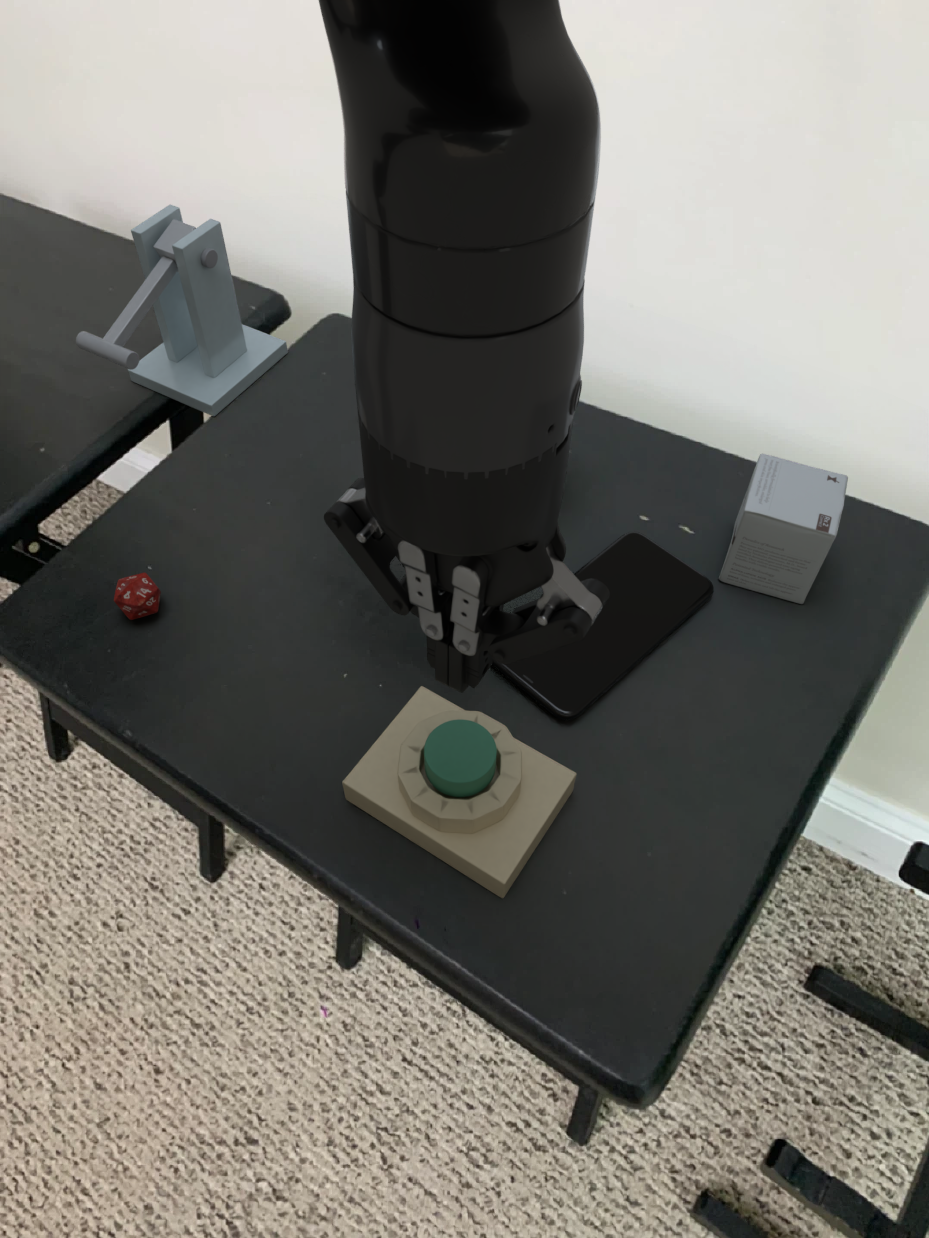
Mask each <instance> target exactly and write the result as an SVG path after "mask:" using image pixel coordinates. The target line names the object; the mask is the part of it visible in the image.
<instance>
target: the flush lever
mask: <svg viewBox="0 0 929 1238" xmlns="http://www.w3.org/2000/svg"><path fill="white" fill-rule="evenodd" d="M196 228H197V227H196V226H193V225H191V224H188V223H185V222H184V221H183V222H180V221H177V220H174V219H173V220H172V222H171V223H170V224H169V226H168V227H167V228H166V230H165V231H164V232H163V234H162V235H161V237H160V238H159V239H158V241H157V242H156V243H155V245H154V246H153V247H154V249H155V250H156V252H157V253H158V255H159V256H160V258H161V259H160V260H159V262H158V263H157V265H156V266H155V267H154V269H153V270H152V271H151V273H150V274H149V276H148V277H147V278H146V280H145V279H144V281H143V283H142V284H141V285H140V286H139V287H138V289H137V290H136V292H135V293H134V295H133V296H132V297H131V299H130V300H129V302H128V303H127V304H126V306H125V307H124V308H123V310H122V311H121V313H120V314H119V315H118V317H117V318H116V319H115V321H114V322H113V324H112V325H111V326H110V328H109V329H108V331H107V332H106V333H105V335H104V337H100V336H98V335H97V334H96V335H95V334H93V333H91V332H89V331H86V330H82V331H79V333H77V335H76V337H75V344H76V346H77V348H79V349H81V350H83V351H86V352H88V353H90V354H93V355H95V356H97V357H99V358H102V359H104V360H107V361H109V362H112V363H114V364H115V365H118V366H120V367H123V368H126V369H127V370H128V369H130V370H132V369H135V368H136V367H137V365H138V363H139V360H140V355H139V354H138V353H137V352H136V351H133V350H132V349H129V348H127V347H124V346H125V345H126V343H127V342H128V341H129V339H130V338H131V336H132V335H133V334H134V332H135V331H136V329H137V328H138V327H139V325H140V324H141V322H143V319H144V318H145V317H146V315H147V314H148V313H149V311H150V310H151V308H153V304H154V303H155V301H156V300H157V299H158V297H159V296H160V295H161V293H162V292H163V290H164V289H165V288H166V286H167V285H168V283H169V282H170V281H171V279H172V278H173V276H174V275H175V274H176V272H179V271H178V267H177V264H176V260H175V256H174V252H173V248H172V245H173V244H174V243H176V242H177V241H179V240H180V239H182V238H183V237H184V236H186V235H187V234H189V233H190V232H192V231H193V230H195V229H196Z"/></svg>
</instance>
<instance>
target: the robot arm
mask: <svg viewBox="0 0 929 1238" xmlns="http://www.w3.org/2000/svg"><path fill="white" fill-rule="evenodd" d="M317 1H318V4H319V8H320V9H319V10H320V13H321V17H322V22H323V27H324V30H325V34H326V40H327V43H328V47H329V52H330V55H331V56H330V57H331V60H332V65H333V69H334V70H333V71H334V75H335V79H336V85H337V91H338V97H339V101H340V109H341V117H342V118H341V119H342V126H343V168H344V170H343V172H344V173H343V174H344V185H345V187H344V189H345V198H346V199H345V201H346V211H347V212H346V213H347V222H348V233H349V234H348V235H349V244H350V257H351V269H352V281H353V282H352V284H353V285H352V286H353V287H352V289H353V291H352V293H353V294H352V309H351V321H350V339H351V356H352V365H353V366H352V367H353V376H354V387H355V397H356V407H357V418H358V430H359V440H360V450H361V451H360V452H361V460H362V472H363V477H358V478H356V479H355V481H354V482H353V483H352V484H351V485H350V486H349V487H348V488H347V490H345V491H344V493H342V495H341V496H340V497H339V498H338V499H337V500H336V501H335V502H334V503H333V504H332V505H331V506H330V507H329V508H328V509H327V511H325V513H324V514H323V521H324V522H325V524H326V525H327V527H328V528H329V530H330V532H332V533H333V535H334V536H335V538H337V540H338V541H339V543H340V544H341V545H342V547H343V548H344V550H345V551H346V552H347V553H348V555H349V556H350V557H351V558H352V560H353V562H355V564H356V565H357V567H358V568H359V570H360V571H361V572H362V573H363V575H364V576H365V577H366V579H367V580H368V581H369V582H370V583H371V585H372V586H373V587H374V589H375V590H376V593H378V594H379V596H380V597H381V598H382V600H383V601H384V602H385V604H386V605H387V606H388V607H389V608H390V609H391V611H393V612H394V613H395V614H398V615H400V616H407V615H408V614H409V613H412V615H414V616H416V617H417V618H418V619H419V626H420V627H419V628H420V629H421V631H422V632H423V633H424V635H425V636H426V660H427V662H428V664H429V667H430V668H432V669H434V673H435V674H434V675H435V678H434V680H435V681H437V682H439V683H441V684H443V685H445V686H446V687H449V688H451V689H453V690H455V691H457V692H459V693H461V694H463V693H464V692H465V691H466V690H467V689H468V687H471V688H473V689H475V688H476V687H478V685H479V684H480V682H481V681H482V680H483V678H484V677H485V675H486V674H487V672H488V671H489V669H490V668H491V667H492V666H493V665H492V663H493V659H494V660H496V661H497V662H499V663H501V664H511V663H514V662H517V661H520V660H523V659H526V658H529V657H532V656H536V655H539V654H542V653H545V652H548V651H551V650H554V649H557V648H560V647H563V646H566V645H569V644H573V643H576V642H579V641H581V640H583V638H584V637H585V635H586V633H587V632H588V630H589V629H590V627H591V626H592V625H593V623H594V621H595V620H596V618H597V617H598V615H599V613H600V612H601V610H602V608H603V606H604V605H605V603H606V601H607V600H608V598H609V596H610V592H609V589H608V588H607V586H606V585H605V584H604V583H602V582H601V581H599V580H597V579H592V578H590V579H586V580H583V581H581V582H580V581H579V580H578V578H577V577H576V576H575V575H574V573H573V572H572V571H571V569H569V568H568V566H567V564H565V563H564V560H565V558H566V555H567V544H566V541H565V538H564V537H563V536H564V535H563V534H562V532H561V529H560V525H559V517H560V516H559V515H560V511H561V508H562V502H563V497H564V491H565V483H566V476H567V469H568V464H569V463H568V462H569V456H570V455H569V454H570V447H571V441H572V433H573V426H574V418H575V412H576V411H577V408H578V405H579V402H580V398H581V394H582V388H583V380H582V376H581V371H582V370H581V369H582V363H583V356H584V345H585V313H584V309H585V308H584V296H585V294H584V293H585V281H586V280H585V276H586V271H587V264H588V256H589V249H590V241H591V234H592V225H593V219H594V213H595V212H594V211H595V204H596V196H597V189H598V182H599V173H600V160H601V147H602V146H601V142H602V141H601V140H602V125H601V109H600V103H599V98H598V94H597V91H596V88H595V85H594V83H593V81H592V78H591V76H590V73H589V72H588V70H587V68H586V66H585V64H584V62H583V60H582V59H581V57H580V55H579V53H578V51H577V49H576V48H575V46H574V43H573V42H572V40H571V37H570V36H569V34H568V31H567V27H566V25H565V21H564V19H563V14H562V9H561V8H562V7H561V4H560V3H561V2H560V0H317ZM395 558H396V559H397V560H398V562H399V563H400V564H401V565H402V567H403V568H404V571H405V572H404V573H405V574H404V575H403V576H402V577H401V579H400V580H399V579H398V578H397V576H396V575H395V574H394V572H393V571H392V569H391V562H392V561H393V560H394V559H395ZM539 588H541V590H542V593H541V595H540V597H539V598H537V599H534V600H531V601H529V602H526V603H524V604H522V605H519V606H516V607H515V608H514V609H513V610H512V612H509V611H504V606H505V605H506V604H508V603H509V602H511V601H513V600H515V599H518V598H520V597H522V596H524V595H526V594H528V593H530V592H533V591H534V590H536V589H539Z"/></svg>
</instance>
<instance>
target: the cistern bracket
mask: <svg viewBox="0 0 929 1238" xmlns="http://www.w3.org/2000/svg"><path fill="white" fill-rule="evenodd" d="M173 219H174V220H177V221H180V222H183V223H184V220H183V217H182V212H181V208H180V207H179V206H177V205H173V204H171V203H170V204H168V205H166V206H165V207H164V208H162V209H160V210H159V211H158V212H156V213H155V214H152V215H151V216H150V217H148V218H147V219H145V220H144V221H142V222H141V223H139V224H138V225H136V226H135V227H133V228H132V229H130V233H131V236H132V239H133V243H134V246H135V250H136V254H137V257H138V260H139V264H140V267H141V271H142V274H143V277H144V281H145V280H146V278H147V277H148V276H149V274H150V273H151V271H152V270H153V269H154V267H155V266H156V265H157V263H158V262H159V260H160V259H161V258H160V256H159V255H158V253H157V252H156V250H155V249H154V247H153V246H154V245H155V243H156V242H157V241H158V239H159V238H160V237H161V235H162V234H163V232H164V231H165V230H166V228H167V227H168V226H169V224H170V223H171V222H172V220H173ZM225 242H226V241H225V238H224V233H223V229H222V222H221V221H219V220H216V219H214V218H209V219H208V220H206V221H205V222H203V223H202V224H200V225H199V226H197V227H196V229H195V230H193V231H192V232H190V233H189V234H187V235H186V236H184V237H183V238H182V239H180V240H179V241H177V242H176V243H174V244H173V245H172V248H173V252H174V256H175V260H176V264H177V267H178V271H179V272H176V274H175V275H174V276H173V278H172V279H171V281H170V282H169V283H168V285H167V286H166V288H165V289H164V290H163V292H162V293H161V295H160V296H159V297H158V299H157V300H156V301H155V303H154V304H153V306H152V308H153V311H154V315H155V318H156V322H157V325H158V329H159V332H160V335H161V339H162V342H161V343H160V344H159V345H158V346H156V347H154V349H152V350H151V351H149V352H148V354H146V355H145V356H143V357H142V358H141V359H139V363H138V365H137V367H136V368H135V369H132V370H130V369H128V368H127V372H128V375H129V379H130V382H132V383H135V384H137V385H139V386H142V387H144V388H147V389H149V390H151V391H153V392H156V393H159V394H160V395H163V396H165V397H167V398H170V399H172V400H174V401H177V402H179V403H181V404H182V405H183V404H184V405H186V406H188V407H190V408H193V409H195V410H197V411H199V412H201V413H204V414H207V415H209V416H211V417H216V416H217V415H218V414H219V413H220V412H221V411H223V410H224V409H226V407H227V406H228V405H230V404H231V403H232V402H234V401H235V399H236V398H238V397H239V396H240V395H241V394H242V393H243V392H245V391H246V390H247V389H248V388H249V387H250V386H251V385H253V384H254V383H255V382H257V380H258V379H260V378H261V377H262V376H263V375H264V374H265V373H267V372H268V371H269V370H270V369H271V368H272V367H274V365H276V364H277V363H278V362H279V361H280V360H281V359H283V358H284V357H285V356H286V355H287V354H288V353H289V349H288V345H287V341H286V340H285V339H281V338H279V337H276V336H273V335H271V334H269V333H266V332H263V331H261V330H258V329H256V328H253V327H251V326H248V325H246V324H243V322H242V318H241V312H240V310H239V304H238V299H237V296H236V290H235V285H234V280H233V275H232V272H231V266H230V262H229V257H228V251H227V247H226V243H225Z"/></svg>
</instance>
